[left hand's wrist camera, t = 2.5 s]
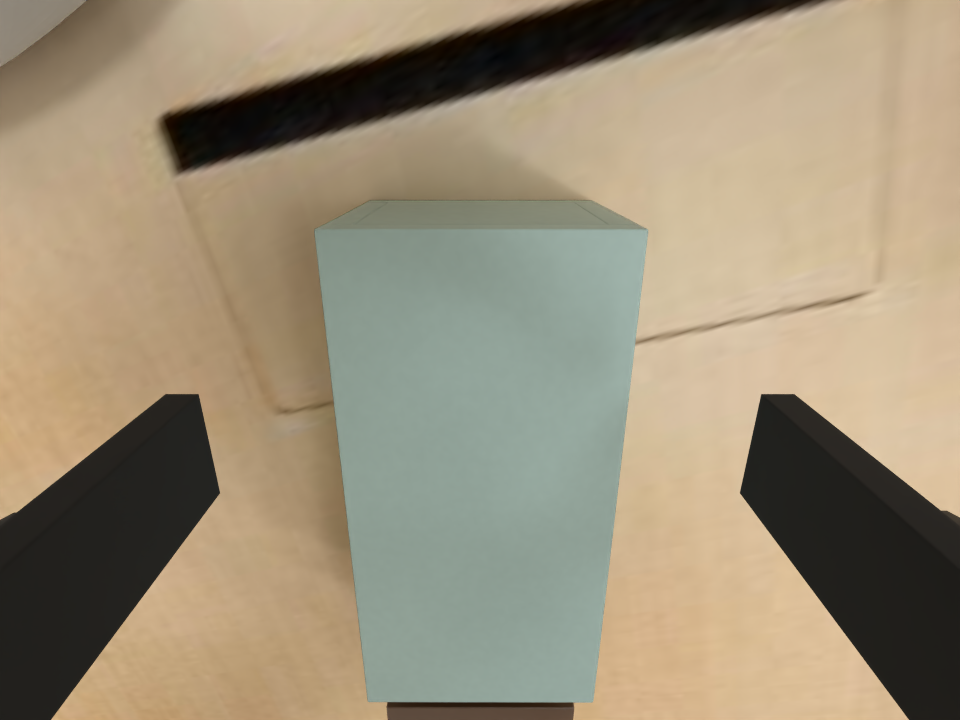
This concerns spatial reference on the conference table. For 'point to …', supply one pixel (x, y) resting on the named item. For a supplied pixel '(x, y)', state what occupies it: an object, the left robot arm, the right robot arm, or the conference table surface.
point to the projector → (29, 23)
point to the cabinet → (480, 436)
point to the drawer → (480, 710)
